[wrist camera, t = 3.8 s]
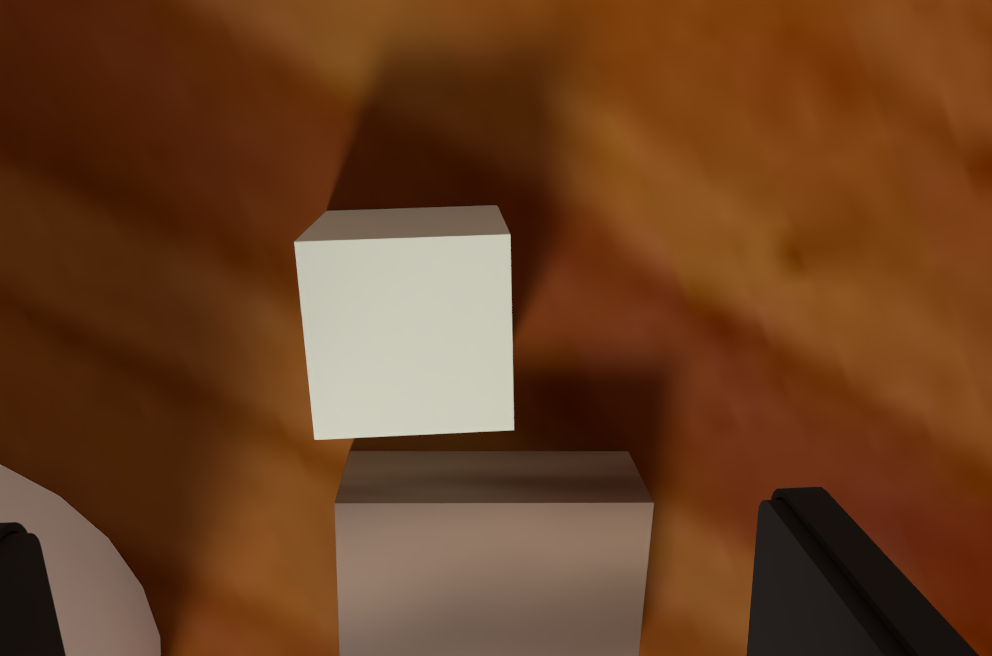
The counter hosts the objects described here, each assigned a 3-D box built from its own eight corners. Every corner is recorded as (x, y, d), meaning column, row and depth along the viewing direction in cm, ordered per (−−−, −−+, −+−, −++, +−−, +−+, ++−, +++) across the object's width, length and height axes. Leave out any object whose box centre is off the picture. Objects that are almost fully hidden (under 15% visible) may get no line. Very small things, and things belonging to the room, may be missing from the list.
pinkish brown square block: (350, 446, 27) (334, 503, 24) (626, 447, 28) (654, 503, 24) (356, 676, 30) (343, 760, 26) (606, 672, 31) (628, 754, 27)
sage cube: (326, 210, 25) (294, 242, 19) (497, 204, 25) (510, 234, 20) (341, 370, 26) (314, 439, 21) (500, 364, 27) (513, 430, 21)
